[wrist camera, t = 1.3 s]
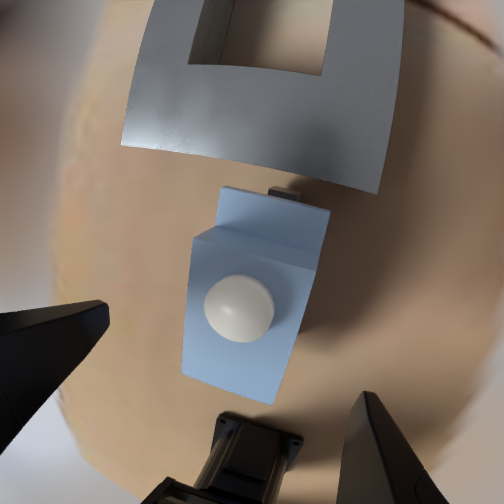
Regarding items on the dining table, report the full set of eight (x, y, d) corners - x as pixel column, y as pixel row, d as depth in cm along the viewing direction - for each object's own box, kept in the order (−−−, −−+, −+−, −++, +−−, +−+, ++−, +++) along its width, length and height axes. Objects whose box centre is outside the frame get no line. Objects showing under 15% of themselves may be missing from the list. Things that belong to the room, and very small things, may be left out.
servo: (287, 355, 16) (261, 435, 11) (222, 335, 17) (174, 403, 11) (332, 198, 13) (330, 223, 8) (249, 179, 14) (191, 191, 8)
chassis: (367, 188, 12) (376, 194, 10) (156, 146, 15) (120, 145, 12) (395, -50, 7) (400, -80, 5) (212, -62, 10) (193, -86, 7)
